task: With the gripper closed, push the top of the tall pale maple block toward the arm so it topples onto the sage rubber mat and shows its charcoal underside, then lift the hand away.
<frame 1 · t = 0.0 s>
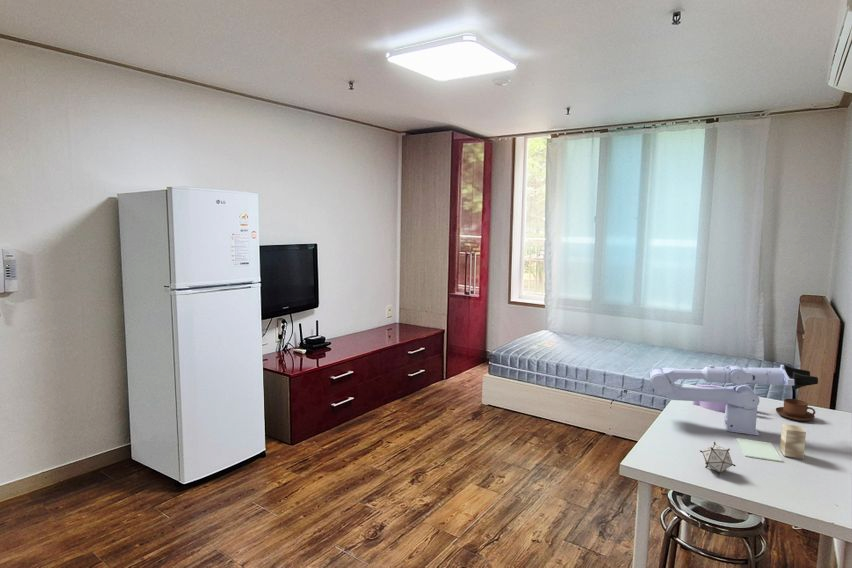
hand: (813, 377, 169), 22 cm above the table, tool horizontal, fingers open, 7 cm apart
clip: (722, 408, 200), on the table
game die: (716, 471, 148), on the table
maple block: (791, 455, 159), on the table
cup and saucer: (794, 417, 191), on the table
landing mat: (758, 450, 162), on the table
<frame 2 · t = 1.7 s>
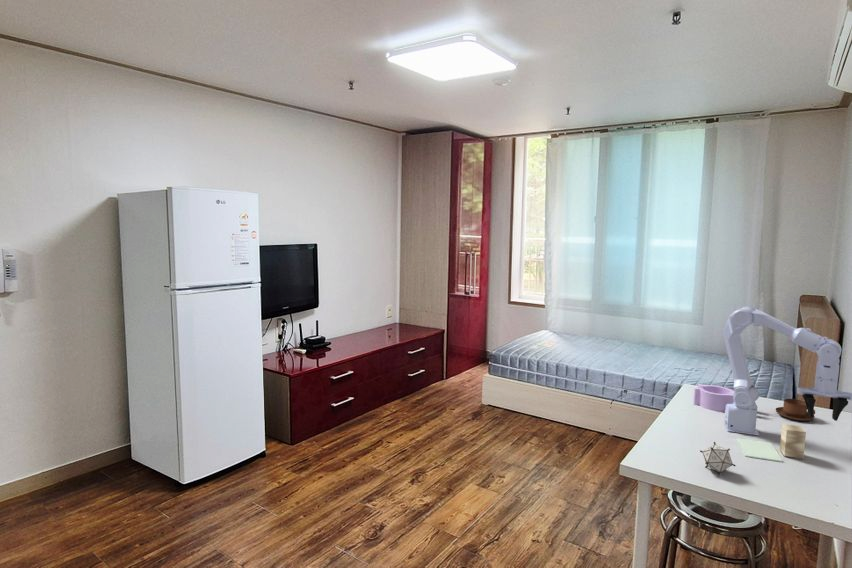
hand: (822, 418, 162), 10 cm above the table, tool pointing down, fingers open, 6 cm apart
nothing on the table moved.
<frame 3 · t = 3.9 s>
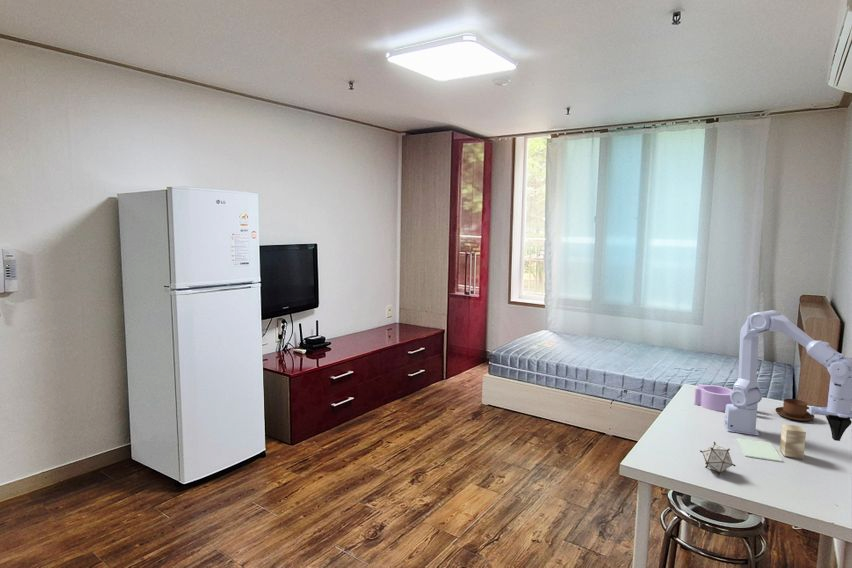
hand: (835, 439, 154), 7 cm above the table, tool pointing down, fingers closed
nothing on the table moved.
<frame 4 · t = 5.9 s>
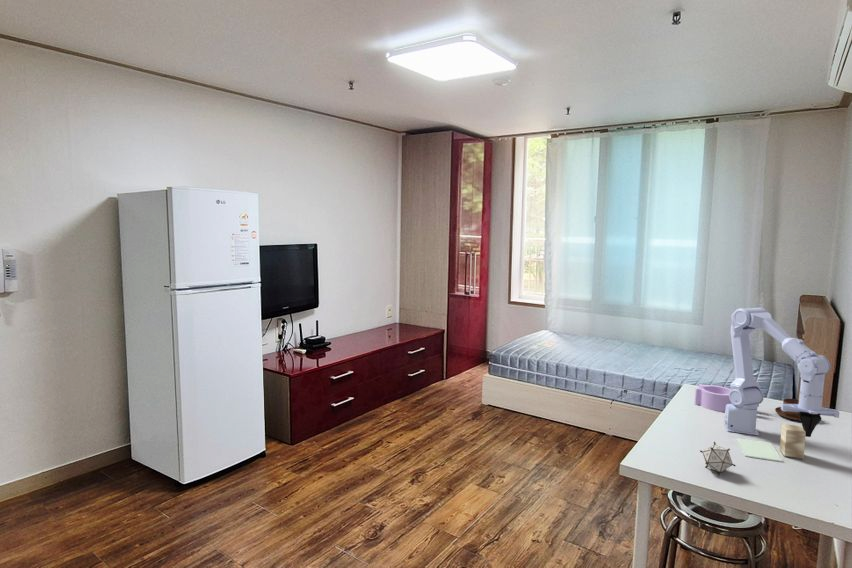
hand: (807, 435, 157), 7 cm above the table, tool pointing down, fingers closed
maple block: (791, 454, 159), on the table, touching gripper
everything else where it was.
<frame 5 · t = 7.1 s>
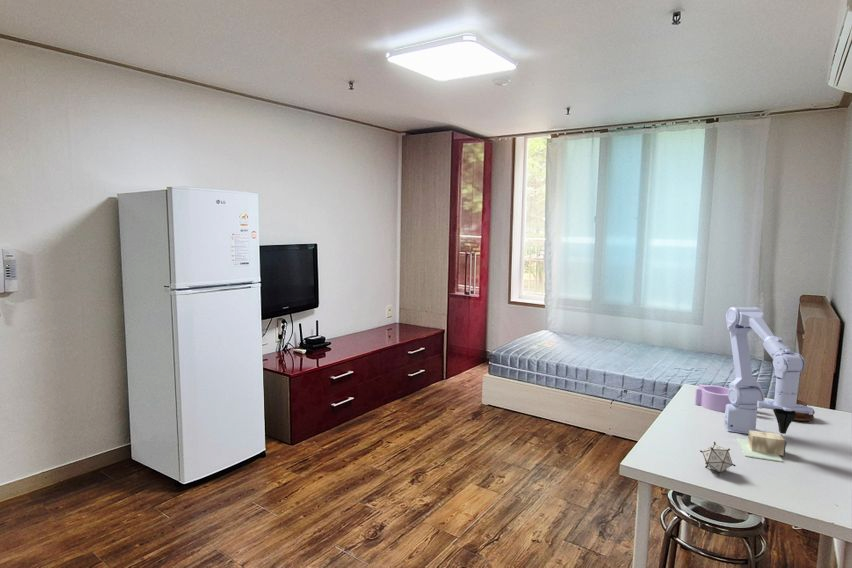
hand: (782, 432, 159), 7 cm above the table, tool pointing down, fingers closed
maple block: (783, 444, 159), point 3 cm above the table, tilted 90°, touching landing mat
everything else where it was.
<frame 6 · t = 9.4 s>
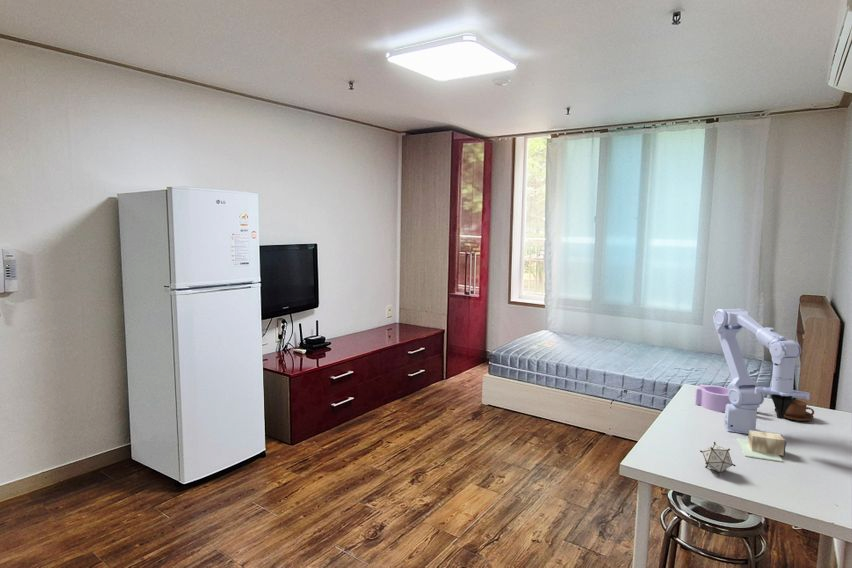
hand: (779, 417, 162), 10 cm above the table, tool pointing down, fingers closed
nothing on the table moved.
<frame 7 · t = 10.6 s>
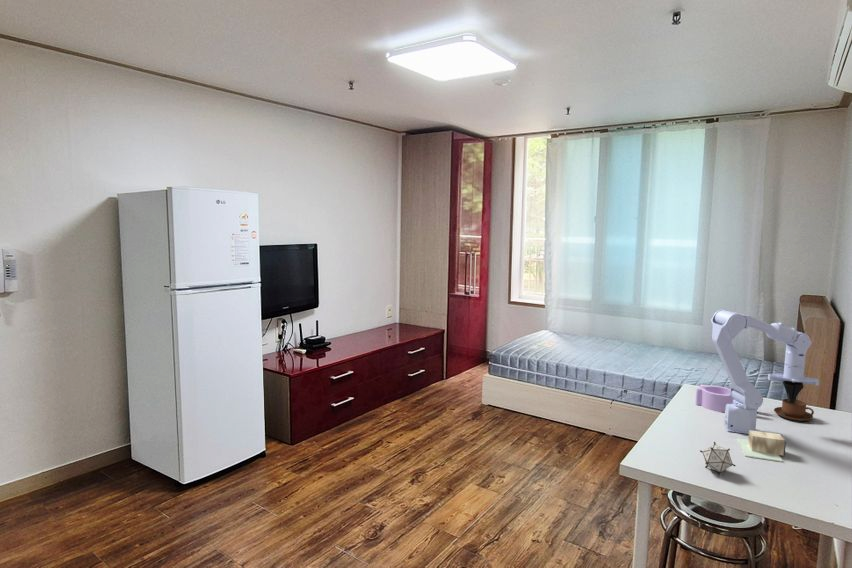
hand: (790, 402, 177), 10 cm above the table, tool pointing down, fingers closed
nothing on the table moved.
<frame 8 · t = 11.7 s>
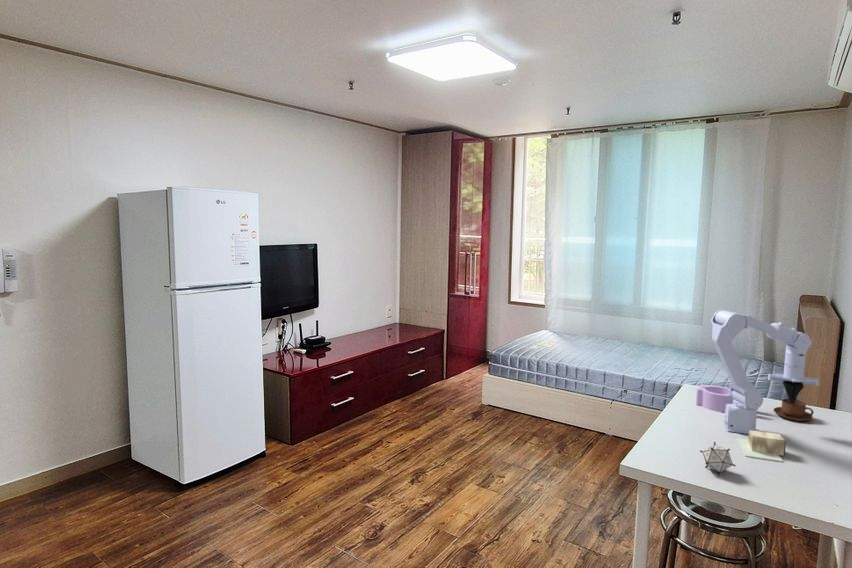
hand: (790, 402, 177), 10 cm above the table, tool pointing down, fingers closed
at the end: maple block tilted 90°; maple block touching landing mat; maple block inside the target area (2.6 cm from its centre), point 2.9 cm above the table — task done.
